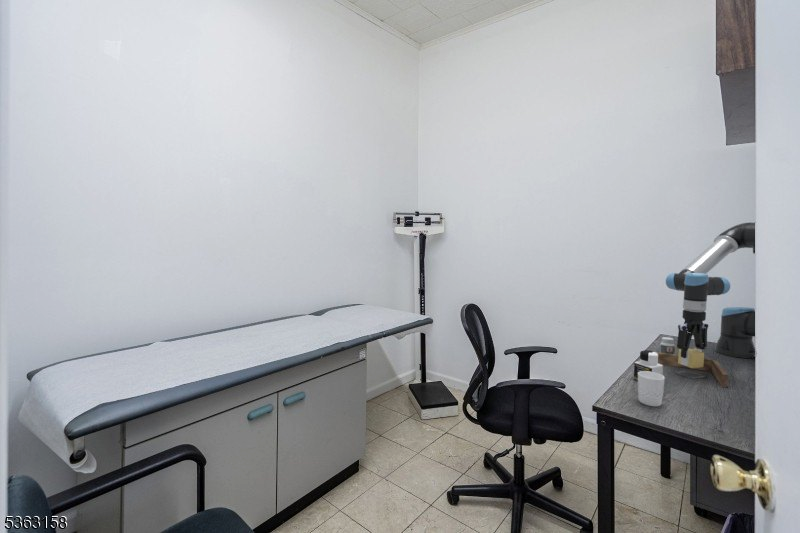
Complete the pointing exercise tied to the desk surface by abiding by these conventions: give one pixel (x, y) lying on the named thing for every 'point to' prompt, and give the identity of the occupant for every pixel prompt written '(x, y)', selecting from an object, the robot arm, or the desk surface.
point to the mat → (690, 374)
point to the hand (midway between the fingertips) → (690, 364)
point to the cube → (693, 358)
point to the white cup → (650, 388)
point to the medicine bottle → (647, 363)
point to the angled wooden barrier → (708, 366)
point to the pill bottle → (667, 345)
